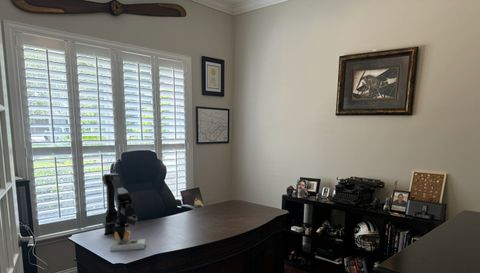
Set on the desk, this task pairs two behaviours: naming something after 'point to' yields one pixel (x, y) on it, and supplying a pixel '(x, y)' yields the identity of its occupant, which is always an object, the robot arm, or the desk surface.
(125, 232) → the clip
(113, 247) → the rail
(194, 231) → the desk surface
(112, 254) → the desk surface
